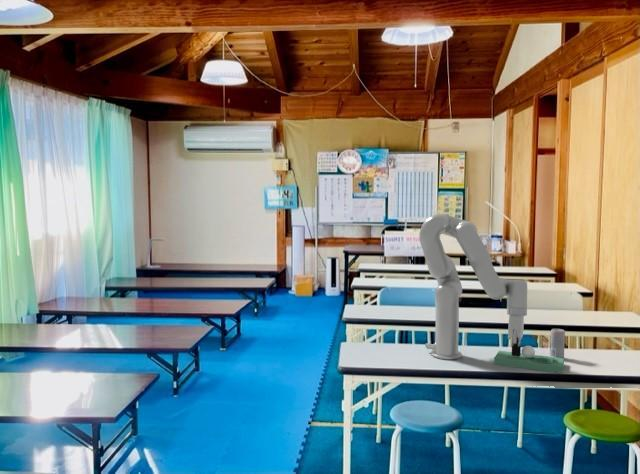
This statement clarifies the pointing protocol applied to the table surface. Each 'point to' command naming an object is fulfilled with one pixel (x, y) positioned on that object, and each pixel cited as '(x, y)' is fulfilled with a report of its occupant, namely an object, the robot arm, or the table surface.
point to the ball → (528, 351)
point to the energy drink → (557, 343)
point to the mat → (530, 362)
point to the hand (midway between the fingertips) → (516, 355)
